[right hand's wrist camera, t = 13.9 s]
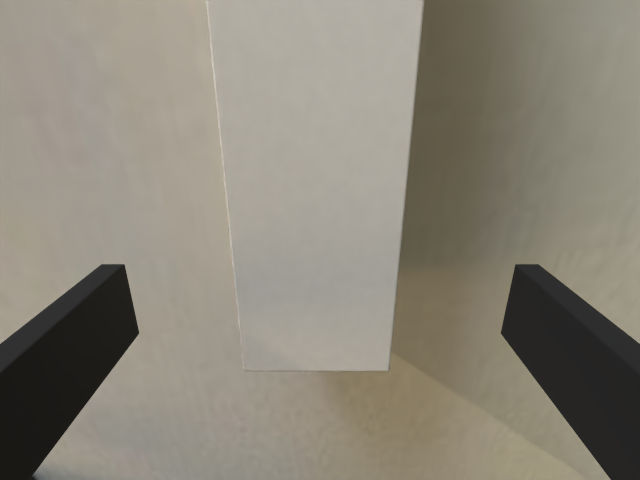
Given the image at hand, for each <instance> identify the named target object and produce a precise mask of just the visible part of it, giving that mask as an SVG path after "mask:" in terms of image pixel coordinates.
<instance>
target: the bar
mask: <svg viewBox="0 0 640 480" xmlns="http://www.w3.org/2000/svg"><path fill="white" fill-rule="evenodd" d="M206 7H207V17H208V27H209V37H210V47H211V56H212V66H213V76H214V86H215V96H216V106H217V116H218V125H219V135H220V145H221V155H222V165H223V175H224V184H225V194H226V204H227V214H228V224H229V234H230V244H231V253H232V263H233V273H234V283H235V293H236V303H237V313H238V322H239V332H240V342H241V352H242V362H243V370H244V371H389V368H390V358H391V347H392V337H393V326H394V316H395V305H396V295H397V284H398V274H399V263H400V253H401V242H402V232H403V221H404V211H405V200H406V189H407V179H408V168H409V158H410V147H411V137H412V126H413V116H414V105H415V95H416V84H417V74H418V63H419V53H420V42H421V32H422V21H423V11H424V0H206Z"/></svg>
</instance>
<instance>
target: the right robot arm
mask: <svg viewBox="0 0 640 480" xmlns="http://www.w3.org/2000/svg"><path fill="white" fill-rule="evenodd" d="M138 334H139V330H138V325H137V321H136V316H135V311H134V307H133V302H132V297H131V293H130V288H129V283H128V279H127V274H126V269H125V265H124V264H102V265H100V266H99V267H98V268H96V269H95V270H94V271H93V272H91V273H90V274H89V275H88V276H86V277H85V278H84V279H82V280H81V281H80V282H79V283H77V284H76V285H75V286H74V287H72V288H71V289H70V290H68V291H67V292H66V293H65V294H63V295H62V296H61V297H60V298H58V299H57V300H56V301H54V302H53V303H52V304H51V305H49V306H48V307H47V308H46V309H44V310H43V311H42V312H40V313H39V314H38V315H37V316H35V317H34V318H33V319H32V320H30V321H29V322H28V323H26V324H25V325H24V326H23V327H21V328H20V329H19V330H18V331H16V332H15V333H14V334H12V335H11V336H10V337H9V338H7V339H6V340H5V341H4V342H2V343H1V344H0V480H29V479H30V478H31V476H32V475H33V474H34V472H35V471H36V470H37V468H38V467H39V466H40V464H41V463H42V462H43V460H44V459H45V458H46V456H47V455H48V454H49V452H50V451H51V450H52V448H53V447H54V446H55V444H56V443H57V442H58V440H59V439H60V438H61V436H62V435H63V434H64V432H65V431H66V430H67V428H68V427H69V426H70V425H71V423H72V422H73V421H74V419H75V418H76V417H77V415H78V414H79V413H80V411H81V410H82V409H83V407H84V406H85V405H86V403H87V402H88V401H89V399H90V398H91V397H92V395H93V394H94V393H95V391H96V390H97V389H98V387H99V386H100V385H101V383H102V382H103V381H104V379H105V378H106V377H107V375H108V374H109V373H110V371H111V370H112V369H113V367H114V366H115V365H116V363H117V362H118V361H119V359H120V358H121V357H122V355H123V354H124V353H125V351H126V350H127V349H128V347H129V346H130V345H131V343H132V342H133V341H134V339H135V338H136V337H137V335H138ZM501 334H502V335H503V337H504V338H505V339H506V341H507V342H508V343H509V345H510V346H511V347H512V349H513V350H514V351H515V353H516V354H517V355H518V357H519V358H520V359H521V361H522V362H523V363H524V365H525V366H526V367H527V369H528V370H529V371H530V373H531V374H532V375H533V377H534V378H535V379H536V381H537V382H538V383H539V385H540V386H541V387H542V389H543V390H544V391H545V393H546V394H547V395H548V397H549V398H550V399H551V401H552V402H553V403H554V405H555V406H556V407H557V409H558V410H559V411H560V413H561V414H562V415H563V417H564V418H565V419H566V421H567V422H568V423H569V425H570V426H571V427H572V428H573V430H574V431H575V432H576V434H577V435H578V436H579V438H580V439H581V440H582V442H583V443H584V444H585V446H586V447H587V448H588V450H589V451H590V452H591V454H592V455H593V456H594V458H595V459H596V460H597V462H598V463H599V464H600V466H601V467H602V468H603V470H604V471H605V472H606V474H607V475H608V476H609V478H610V479H611V480H640V344H639V343H638V342H636V341H635V340H634V339H633V338H631V337H630V336H629V335H628V334H626V333H625V332H624V331H622V330H621V329H620V328H619V327H617V326H616V325H615V324H614V323H612V322H611V321H610V320H608V319H607V318H606V317H605V316H603V315H602V314H601V313H600V312H598V311H597V310H596V309H594V308H593V307H592V306H591V305H589V304H588V303H587V302H586V301H584V300H583V299H582V298H580V297H579V296H578V295H577V294H575V293H574V292H573V291H572V290H570V289H569V288H568V287H566V286H565V285H564V284H563V283H561V282H560V281H559V280H558V279H556V278H555V277H554V276H552V275H551V274H550V273H549V272H547V271H546V270H545V269H544V268H542V267H541V266H540V265H538V264H516V265H515V269H514V274H513V279H512V283H511V288H510V293H509V297H508V302H507V307H506V311H505V316H504V321H503V325H502V330H501Z"/></svg>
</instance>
